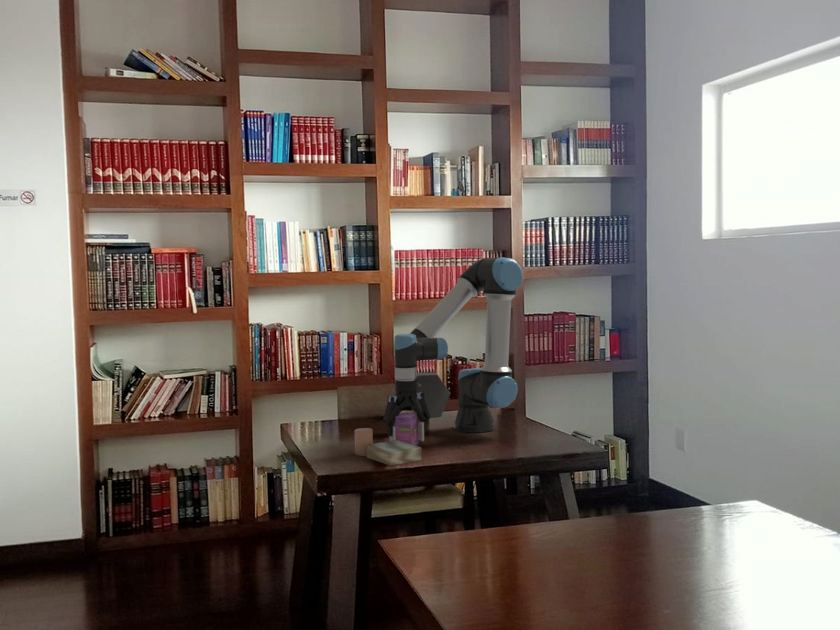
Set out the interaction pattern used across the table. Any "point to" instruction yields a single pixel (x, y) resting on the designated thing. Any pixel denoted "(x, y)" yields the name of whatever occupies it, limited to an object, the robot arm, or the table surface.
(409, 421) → the box
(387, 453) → the mirror
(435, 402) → the dark grey hexagonal block
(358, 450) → the tan capsule cylinder
